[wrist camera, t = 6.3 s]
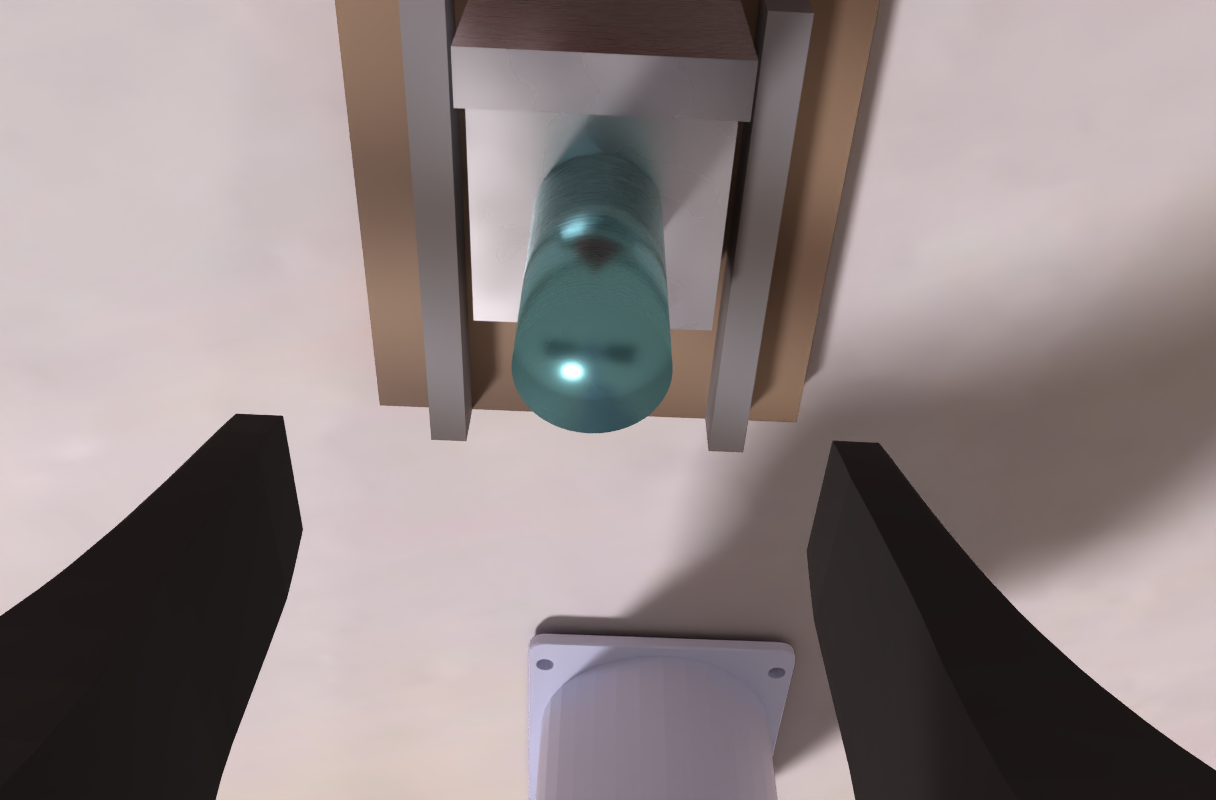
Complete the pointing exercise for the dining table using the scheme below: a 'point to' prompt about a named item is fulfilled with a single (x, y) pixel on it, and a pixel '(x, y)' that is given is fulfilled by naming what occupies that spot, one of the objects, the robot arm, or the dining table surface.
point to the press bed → (753, 238)
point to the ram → (599, 187)
